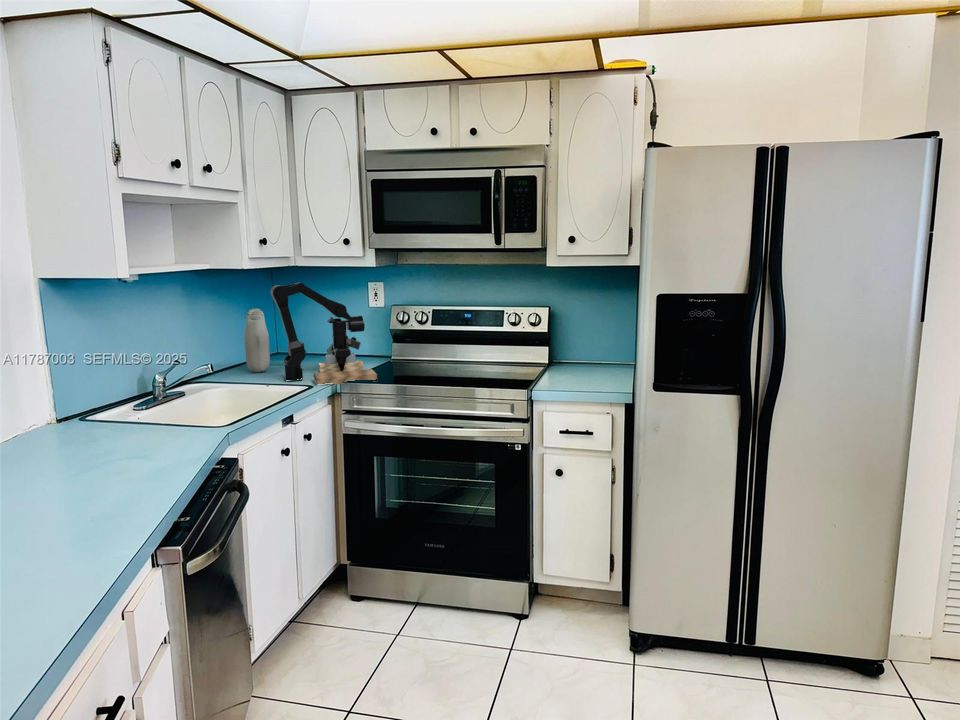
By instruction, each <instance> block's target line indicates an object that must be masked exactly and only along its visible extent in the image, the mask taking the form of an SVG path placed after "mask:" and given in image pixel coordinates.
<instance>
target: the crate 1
mask: <svg viewBox="0 0 960 720" xmlns="http://www.w3.org/2000/svg"><path fill="white" fill-rule="evenodd" d="M334 355H335V354H332V355H328V354H325V363H326V364H327V365H329V364H336V358H335V356H334Z"/></svg>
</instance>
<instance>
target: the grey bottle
mask: <svg viewBox="0 0 960 720" xmlns="http://www.w3.org/2000/svg"><path fill="white" fill-rule="evenodd" d="M243 333H244V336H243V337H244V338H243V341H244V351H245V352H244V353H245V362H246V366H247V368H248V369H249V370H250V371H252V372H254V373H262V372H261V371H263V372H264V371H266V370H267V369H268V368H269V366H270V364H271V352H270V336H269V331H268V328H267V324H266V319H265V314H264V311H263V310H261V309H260V308H250V309H249V310H247V311H246V315H245V327H244V332H243Z"/></svg>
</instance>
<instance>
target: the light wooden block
mask: <svg viewBox="0 0 960 720" xmlns="http://www.w3.org/2000/svg"><path fill="white" fill-rule="evenodd" d="M354 370H364V362H363V361H362V360H356V363H345V365H344V370H343V371H354ZM327 372H341V370H340V367H339V365H338V363H337V362H336V364H329V365H327V364H326V362H318V373H327Z"/></svg>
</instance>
